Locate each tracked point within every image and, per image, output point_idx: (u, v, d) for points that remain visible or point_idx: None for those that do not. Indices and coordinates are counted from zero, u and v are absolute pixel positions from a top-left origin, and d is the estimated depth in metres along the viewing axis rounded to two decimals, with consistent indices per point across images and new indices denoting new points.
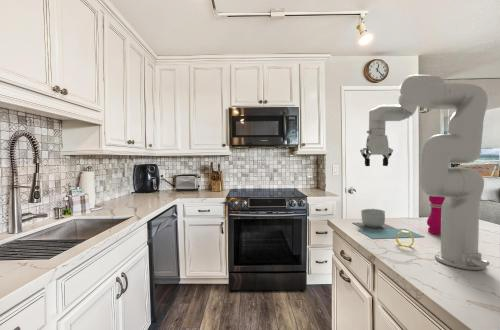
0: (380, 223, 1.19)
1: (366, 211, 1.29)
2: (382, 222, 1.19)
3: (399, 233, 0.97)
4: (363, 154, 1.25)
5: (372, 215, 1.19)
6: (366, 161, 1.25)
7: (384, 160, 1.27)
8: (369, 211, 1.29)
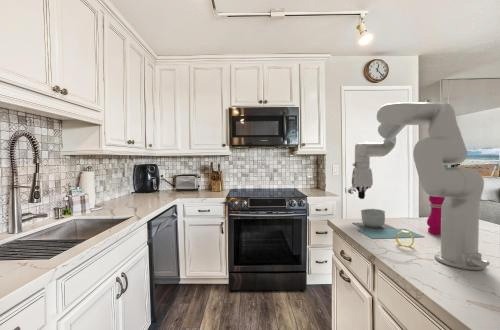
0: (380, 223, 1.19)
1: (366, 211, 1.29)
2: (382, 222, 1.19)
3: (399, 233, 0.97)
4: (356, 188, 1.35)
5: (372, 215, 1.19)
6: (359, 194, 1.35)
7: None
8: (369, 211, 1.29)
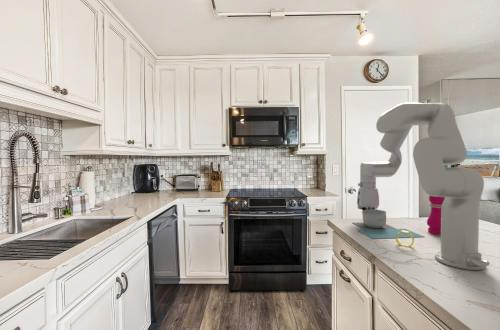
0: (380, 224, 1.18)
1: (368, 212, 1.28)
2: (382, 223, 1.18)
3: (399, 233, 0.97)
4: (362, 208, 1.29)
5: (372, 215, 1.18)
6: None
7: None
8: (372, 212, 1.27)
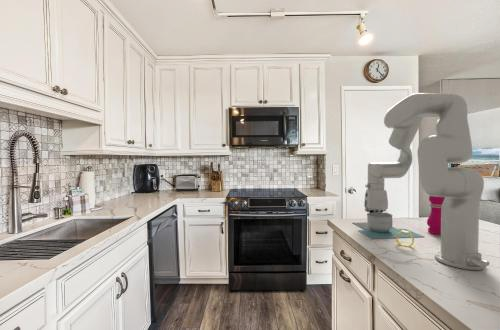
0: (382, 227, 1.12)
1: (376, 214, 1.21)
2: (385, 227, 1.11)
3: (399, 233, 0.97)
4: (370, 211, 1.22)
5: (373, 218, 1.13)
6: None
7: None
8: (380, 215, 1.20)
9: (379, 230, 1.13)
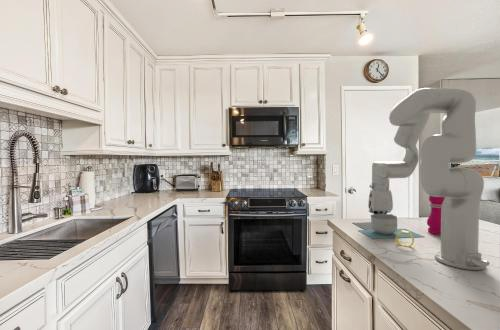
0: (386, 230, 1.08)
1: (380, 216, 1.18)
2: (389, 229, 1.08)
3: (399, 233, 0.97)
4: (374, 212, 1.19)
5: (377, 220, 1.10)
6: None
7: None
8: (385, 217, 1.17)
9: (383, 232, 1.09)
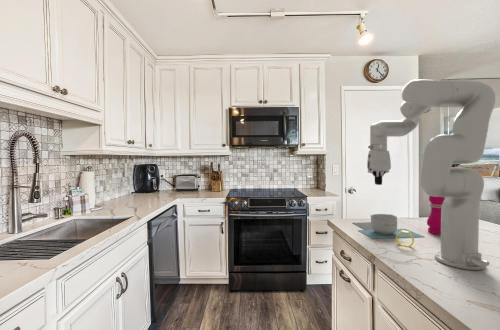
0: (386, 230, 1.08)
1: (380, 216, 1.18)
2: (389, 229, 1.08)
3: (399, 233, 0.97)
4: (373, 172, 1.22)
5: (377, 220, 1.10)
6: (376, 179, 1.22)
7: None
8: (385, 217, 1.17)
9: (383, 232, 1.09)
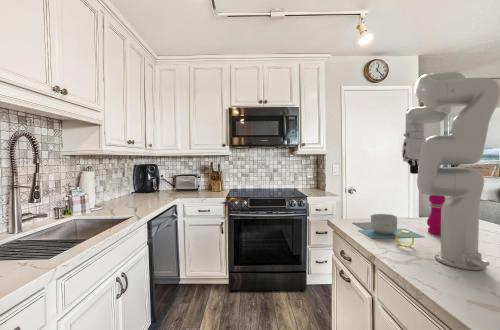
0: (386, 230, 1.08)
1: (380, 216, 1.18)
2: (389, 229, 1.08)
3: (399, 233, 0.97)
4: (409, 161, 1.19)
5: (377, 220, 1.10)
6: (412, 168, 1.19)
7: None
8: (385, 217, 1.17)
9: (383, 232, 1.09)
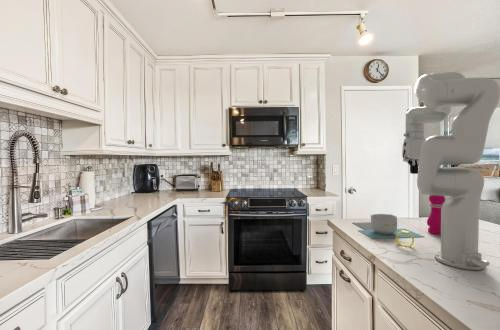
0: (386, 230, 1.08)
1: (380, 216, 1.18)
2: (389, 229, 1.08)
3: (399, 233, 0.97)
4: (409, 161, 1.19)
5: (377, 220, 1.10)
6: (412, 168, 1.19)
7: None
8: (385, 217, 1.17)
9: (383, 232, 1.09)
